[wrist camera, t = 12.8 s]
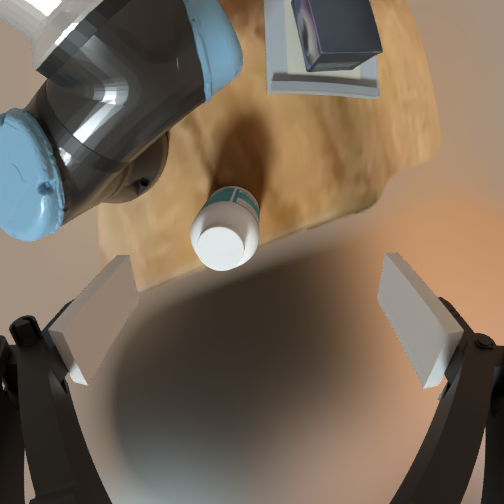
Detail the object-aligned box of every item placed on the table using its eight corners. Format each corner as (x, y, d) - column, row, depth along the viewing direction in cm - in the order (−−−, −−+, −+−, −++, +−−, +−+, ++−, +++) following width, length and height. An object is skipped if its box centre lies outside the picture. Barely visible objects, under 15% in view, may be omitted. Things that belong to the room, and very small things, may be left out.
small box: (286, 1, 26) (293, -38, 17) (336, -1, 25) (359, -36, 16) (303, 73, 30) (319, 53, 21) (355, 70, 30) (387, 52, 20)
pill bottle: (203, 232, 42) (179, 276, 30) (209, 181, 39) (183, 206, 27) (255, 239, 42) (252, 288, 30) (264, 189, 39) (264, 218, 27)
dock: (267, 93, 34) (267, 89, 30) (263, -8, 28) (262, -22, 24) (370, 99, 34) (382, 96, 29) (362, 0, 27) (372, -12, 23)
